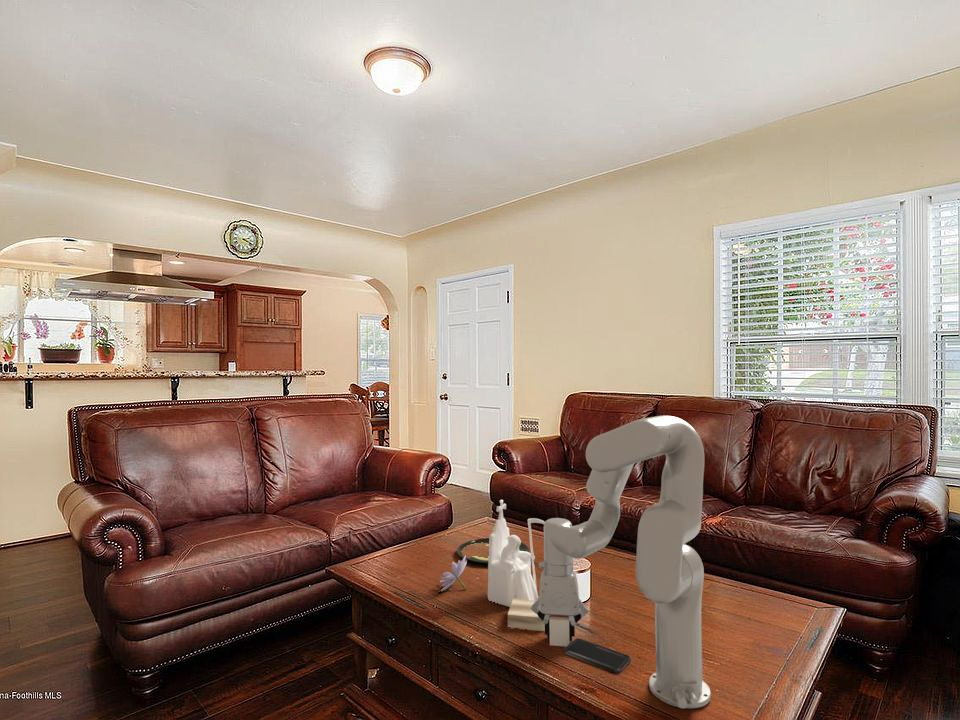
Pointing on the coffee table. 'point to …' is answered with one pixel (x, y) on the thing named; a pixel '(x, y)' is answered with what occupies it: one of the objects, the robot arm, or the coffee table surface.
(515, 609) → the block
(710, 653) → the coffee table surface
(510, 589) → the religious statue
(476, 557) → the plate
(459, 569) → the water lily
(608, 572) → the coffee table surface
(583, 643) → the phone
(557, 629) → the peach rectangular block
